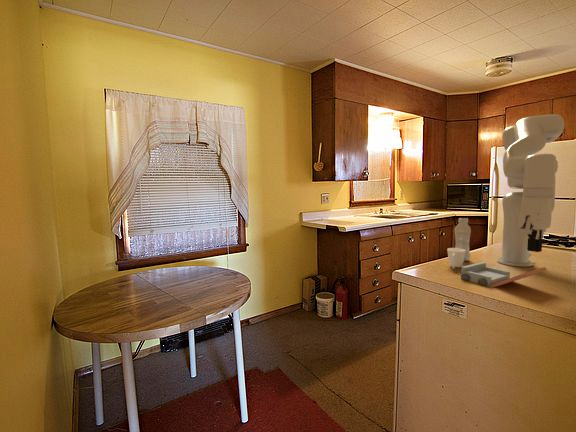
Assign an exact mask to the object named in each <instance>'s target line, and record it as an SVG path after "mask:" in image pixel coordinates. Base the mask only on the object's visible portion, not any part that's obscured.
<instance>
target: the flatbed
mask: <svg viewBox="0 0 576 432" xmlns="http://www.w3.org/2000/svg"><path fill="white" fill-rule="evenodd" d="M486 265H487V263H486V262H483V261H481V262H477V263H472V264H468V265H462V266H461V267H460V268H461V269H460V271H461V273H460V279H461V280H463V281H466V282H471V283H475V284H478V285H480V286H483V287H490V288H494V287H493V286H492V284H495V283H498V282H501V281H504V280H506V279H509V278H511V271H509V270H504V269H499V268H495V267H492V266H491V267H490V266H488V265H487V266H486Z"/></svg>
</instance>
